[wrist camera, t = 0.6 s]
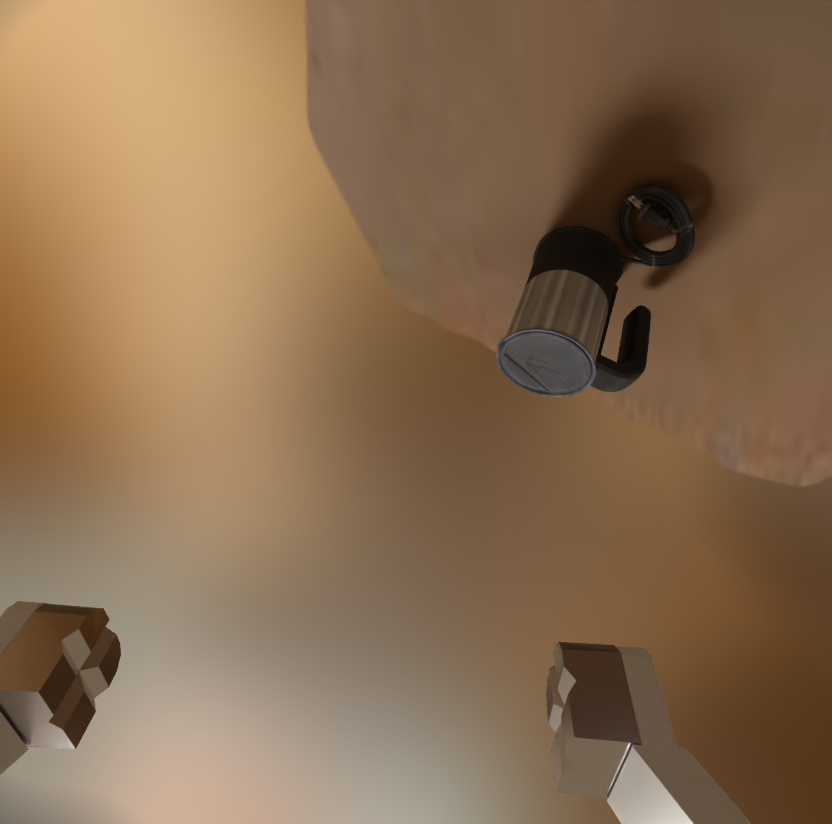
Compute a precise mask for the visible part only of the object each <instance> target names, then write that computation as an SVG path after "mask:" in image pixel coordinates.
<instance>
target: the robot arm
mask: <svg viewBox="0 0 832 824" xmlns="http://www.w3.org/2000/svg"><path fill="white" fill-rule="evenodd" d="M108 621H109V618H108V616H107V614H106V612H105V610H104V609H103V608H92V607H80V606H68V605H56V604H48V603H36V602H22V601H17V602H16V603H14V604H13V605H12V606H10V607H9V608H7V609H6V611H5V612H4V613H3V614H2V616H1V617H0V775H1V774H2V773H3V772H4V771H5V770H6V769H7V768H8V767H10V766H11V765H12V764H13V763H14V762H15V761H16V760H17V759H18V758H19V757H21V756H22V755H23V754H24V753H25V752H26V751H27V750H28V748H27V746H29V747H45V748H46V747H47V748H62V749H76V748H77V746H78V744H79V742H80V740H81V738H82V736H83V735H84V733H85V731H86V729H87V727H88V725H89V723H90V721H91V720H92V718H93V716H94V714H95V712H96V709H95V702H94V698H95V697H96V696H98V695H99V694H100V693H102V692H103V691H104V690H105V689H107V688H108V687H109V686H110V684H111V682H112V680H113V678H114V676H115V674H116V671H117V668H118V664H119V660H120V656H121V648H120V642H119V639H118V637H117V635H116V634H115V633H114V632H112V631H111V630H109V629H108V628H107V627H106V625H107V623H108ZM553 654H554V663H555V665H554V666H552V667H551V668H550V669H549V674H548V678H547V691H546V692H547V693H546V699H547V714H548V723H549V725H550V726H551V727H552V729H553V730H554V731H555V733H556V735H555V739H554V742H553V746H552V749H551V751H552V761H553V769H554V778H555V786H556V792H559V793H568V794H576V795H585V796H593V797H602V798H608V800H607V802H608V803H609V805H610V806H611V808H612V809H613V811H614V813H615V814H616V816H617V817H618V819H619V821H620V822H621V824H751V822H750V821H749V820H748V819H747V818H746V817H745V816H744V814H743V813H742V812H741V811H740V810H739V809H738V807H737V806H736V805H735V804H734V803H733V802H732V801H731V800H730V798H729V797H728V796H727V795H726V794H725V793H724V792H723V790H722V789H721V788H720V787H719V786H718V785H717V784H716V782H715V781H714V780H713V779H712V778H711V777H710V775H709V774H708V773H707V772H706V771H705V770H704V768H703V767H702V766H701V765H700V764H699V763H698V762H697V760H696V759H695V758H694V757H693V756H692V755H691V754H690V752H689V751H688V750H687V749H681V748H677V745H676V742H675V738H674V734H673V731H672V727H671V724H670V721H669V717H668V713H667V710H666V707H665V703H664V699H663V696H662V692H661V689H660V685H659V682H658V678H657V675H656V672H655V668H654V664H653V660H652V657H651V655H650V653H649V652H648V650H647V649H645V648H639V647H637V648H636V647H621V646H614V645H601V644H585V643H583V644H582V643H566V642H558V643H557V644H556V645H555V649H554V653H553Z"/></svg>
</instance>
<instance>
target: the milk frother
mask: <svg viewBox="0 0 832 824" xmlns="http://www.w3.org/2000/svg"><path fill="white" fill-rule="evenodd" d="M633 206H636V207H637V208H638V209H639V215H638V217H637V220H640V219H642V218H643V219H644V220H646V221H647V222H649V223H651V224H654V225H656V226H658V227H660V228H661V229H662V228H666V229H667V230H669V231H670V232H671V234H676V238H677V240H676V245H675V247H674V248H673V249H671V250H668V251H663V252H658V251H653V250H650V249H648V248H646V247H644V246H643V245H642V244H641V243H640V242H639V241H638V239H637V238H636V236H635V235H634V233H633V231H632V228H631V223H630V215H631V211H632V208H633ZM616 223H617V226H618V231H619V235H620V237H621V239H622V241H623V243H624V244H625V246H626V247H627V248H628V249H629V250H630V251H631V252H632V253H633V254H634V255H635V256H637V257H638V258H639V259H641V260H638V259H634V258H629V257H624V256H621V255H620V253H619V251H618V249H617V248H616V246H615V245H614V244H613V243H612V242H611V241H610V240H609V239H607V238H606V237H605V236H603V235H601V234H600V233H597V232H595V231H592V230H589V229H583V228H565V229H560V230H558V231H555V232H553V233H551V234H549V235H548V236H546V237H545V238H544V239H543V240H542V241H541V242H540V243H539V245H538V246H537V248H536V250H535V253H534V257H533V266H532V269H531V272H530V275H529V278H528V281H527V283H526V286H525V288H524V291H523V294H522V296H521V299H520V301H519V304H518V307H517V309H516V312H515V315H514V317H513V320H512V322H511V325H510V328H509V330H508V333H507V335H506V337H505V338H503V339H501V340H500V341H499V343H498V348H497V363H498V365H499V368H500V369H501V371H502V372H503V373H504V375H505V376H506V377H507V378H508V379H509V380H510V381H511V382H513V383H514V384H516V385H518V386H519V387H521V388H523V389H524V390H527V391H529V392H532V393H535V394H538V395H543V396H549V397H566V396H571V395H575V394H579V393H581V392H582V391H583V390H585V389H586V388H588V387H589V386H592V387H594V388H596V389H599V390H601V391H606V392H616V391H620V390H623V389H625V388H626V387H628V386H629V385H631V384H632V383H633V382H635V381H636V380H637V379H638V378H639V377H640V376H641V374H642V373H643V372H644V370H645V367H646V361H647V352H648V343H649V332H650V321H651V313H650V311H649V309H647V308H646V307H645V306H642V305H641V306H638V307H636V308H635V309H634V310H632V311H631V312H630V314H629V315H628V316H627V317H626V318H625V320H624V323H623V328H622V335H621V340H620V347H619V353H618V359H617V363H616V362H614V361H612V360H610V359H608V358H606V357H604V356H602V355H601V351H602V347H603V343H604V340H605V336H606V332H607V328H608V324H609V320H610V316H611V313H612V308H613V305H614V301H615V298H616V294H617V290H618V286H617V285H616V283H617V282H618V280H619V278H620V276H621V273H622V268H623V265H622V262H632V263H638V264H642V265H645V266H652V267H661V268H663V267H670V266H673V265H676V264H678V263H680V262H682V261H683V260H684V259H685V258H687V257H688V255H689V254H690V252H691V251H692V249H693V246H694V240H695V232H694V224H693V220H692V217H691V214H690V211H689V209H688V207H687V206H686V204H685V203H684V201H683V200H682V199H681V198H680V197H679V195H678V194H676V193H675V192H674V191H672V190H670V189H668V188H666V187H663V186H660V185H645V186H642V187H639V188H637V189H635V190H634V191H632V192H631V193H630V194H629V195H628V196H627V197H626V198H625V199H624V201H623V203H622V204H621V206H620V208H619V210H618V213H617V218H616Z"/></svg>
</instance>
